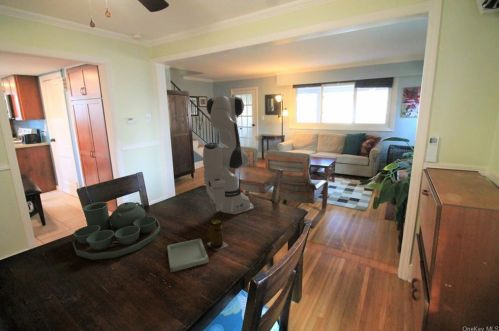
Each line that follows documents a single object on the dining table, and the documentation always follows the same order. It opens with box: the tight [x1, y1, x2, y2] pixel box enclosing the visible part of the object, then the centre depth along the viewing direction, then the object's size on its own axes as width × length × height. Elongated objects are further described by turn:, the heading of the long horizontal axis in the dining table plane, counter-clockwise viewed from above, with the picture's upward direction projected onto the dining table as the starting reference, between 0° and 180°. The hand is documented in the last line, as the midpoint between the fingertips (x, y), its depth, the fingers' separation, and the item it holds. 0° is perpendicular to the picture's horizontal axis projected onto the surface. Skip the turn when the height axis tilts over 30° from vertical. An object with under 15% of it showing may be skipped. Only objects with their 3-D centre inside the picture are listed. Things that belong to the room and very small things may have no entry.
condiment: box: [206, 219, 229, 252], centre depth 114 cm, size 7×8×12 cm
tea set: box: [72, 201, 161, 261], centre depth 123 cm, size 40×40×16 cm
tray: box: [167, 237, 210, 273], centre depth 107 cm, size 16×18×2 cm
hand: (215, 207), depth 111 cm, fingers open, 8 cm apart
